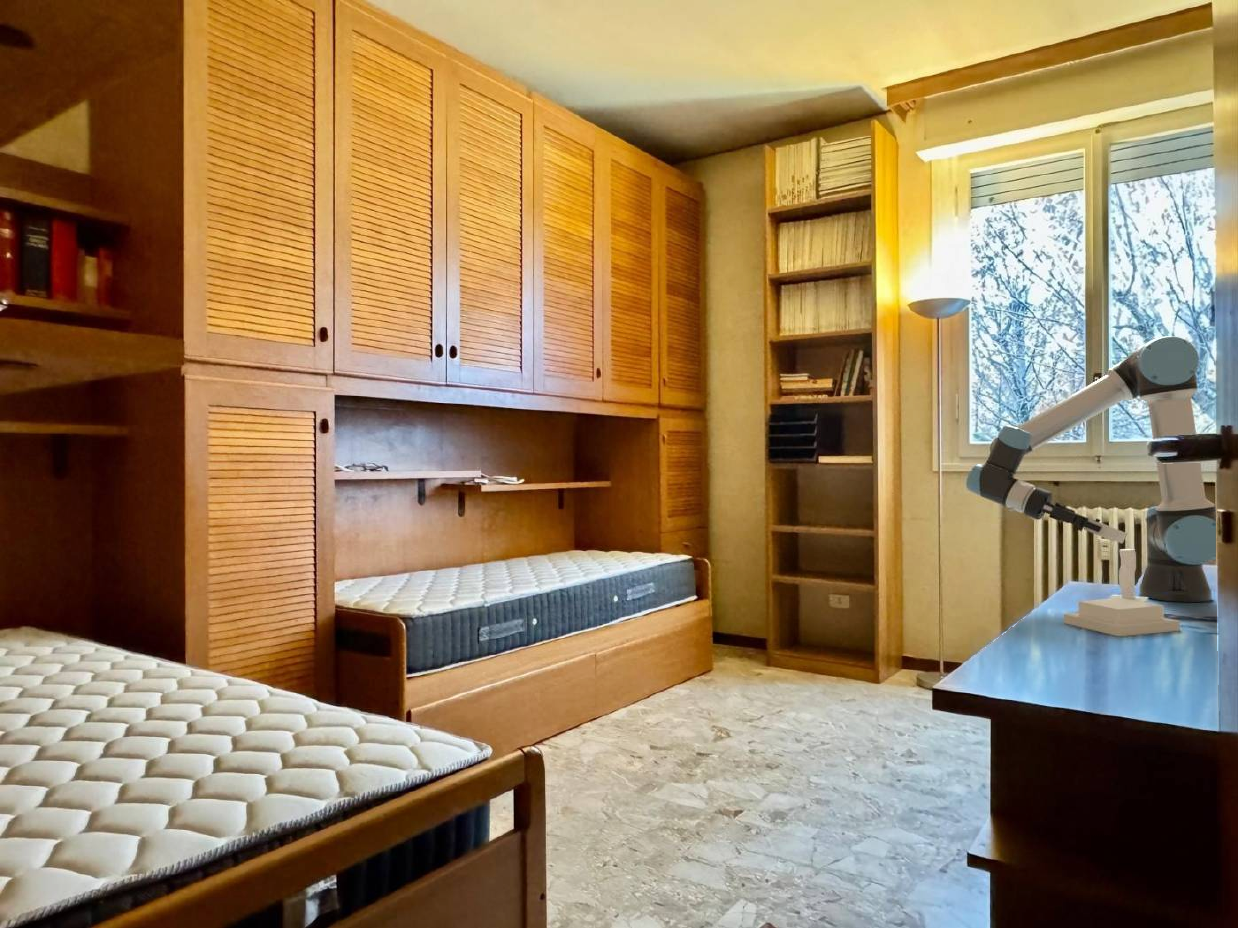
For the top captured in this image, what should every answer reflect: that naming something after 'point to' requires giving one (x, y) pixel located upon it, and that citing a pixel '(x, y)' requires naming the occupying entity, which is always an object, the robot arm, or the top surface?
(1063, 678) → the top surface
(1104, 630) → the plinth
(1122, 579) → the figurine
